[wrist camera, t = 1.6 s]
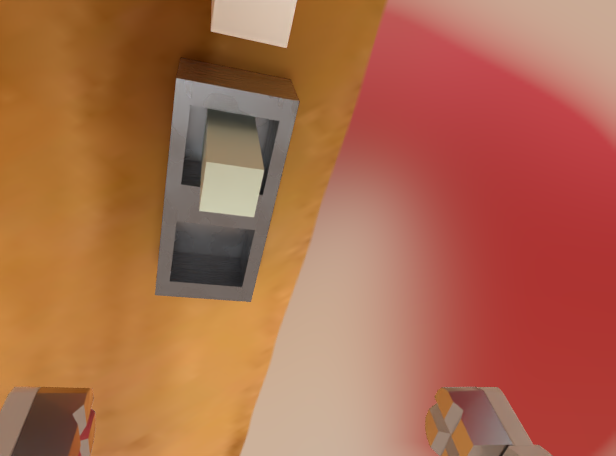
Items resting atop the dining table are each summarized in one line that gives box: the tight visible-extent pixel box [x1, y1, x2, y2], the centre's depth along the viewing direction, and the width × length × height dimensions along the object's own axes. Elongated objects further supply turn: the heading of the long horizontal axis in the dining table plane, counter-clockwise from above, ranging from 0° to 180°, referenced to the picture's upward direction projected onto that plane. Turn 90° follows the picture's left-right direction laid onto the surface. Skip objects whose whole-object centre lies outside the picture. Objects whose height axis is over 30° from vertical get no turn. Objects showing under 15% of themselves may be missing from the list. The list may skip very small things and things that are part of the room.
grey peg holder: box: [155, 58, 300, 302], centre depth 33 cm, size 16×7×4 cm, turn 166°
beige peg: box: [199, 109, 264, 217], centre depth 29 cm, size 3×3×8 cm
